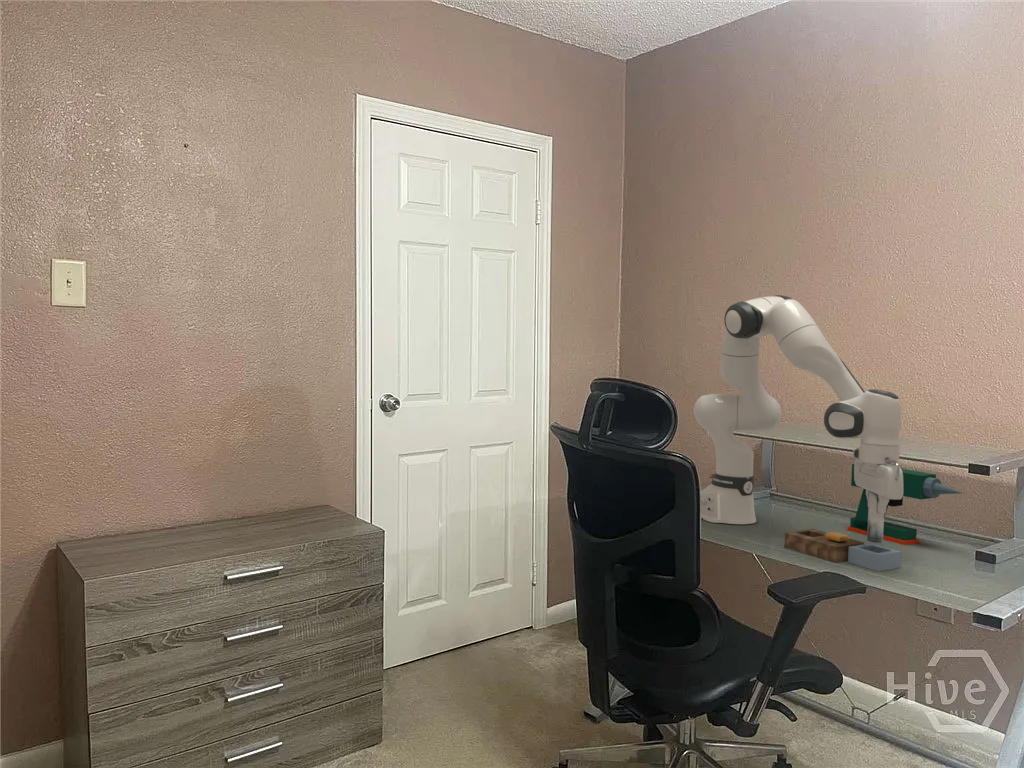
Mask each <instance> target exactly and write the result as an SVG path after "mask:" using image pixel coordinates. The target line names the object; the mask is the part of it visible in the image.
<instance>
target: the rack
mask: <svg viewBox="0 0 1024 768" xmlns="http://www.w3.org/2000/svg"><path fill="white" fill-rule="evenodd" d="M902 554H903V553H902V550H897V549H893V548H890V547H886V546H883V545H879V544H875V543H873V542H869V543H864V544H862V545H856V546H850V547H849V552H848V561H847V563H849V564H852V565H854V566H859V567H863V568H865V569H869V570H872V571H876V572H879V573H880V572H883V571H884V572H885V571H889V570H894V569H898V568H902Z"/></svg>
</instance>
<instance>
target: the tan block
mask: <svg viewBox="0 0 1024 768" xmlns="http://www.w3.org/2000/svg"><path fill="white" fill-rule="evenodd" d="M825 538H828V539H830V541H833V542H836V543H842V542H844V541H848V540H849V538H850V535H848V534H845V533H841V532H836V531H832V532H831V531H830V532H827V533H825Z"/></svg>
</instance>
